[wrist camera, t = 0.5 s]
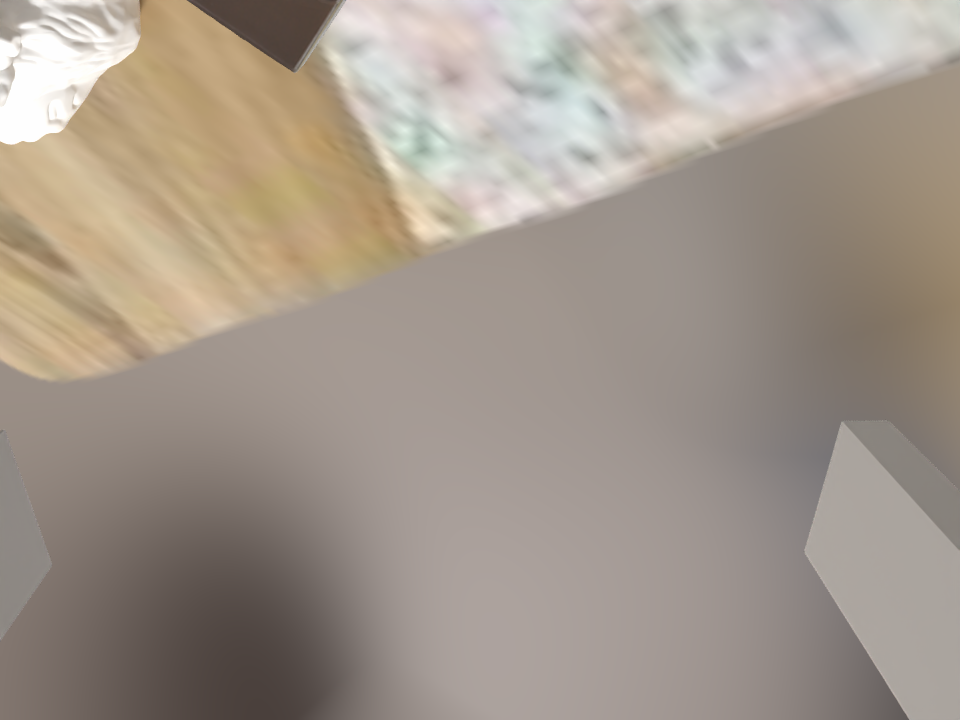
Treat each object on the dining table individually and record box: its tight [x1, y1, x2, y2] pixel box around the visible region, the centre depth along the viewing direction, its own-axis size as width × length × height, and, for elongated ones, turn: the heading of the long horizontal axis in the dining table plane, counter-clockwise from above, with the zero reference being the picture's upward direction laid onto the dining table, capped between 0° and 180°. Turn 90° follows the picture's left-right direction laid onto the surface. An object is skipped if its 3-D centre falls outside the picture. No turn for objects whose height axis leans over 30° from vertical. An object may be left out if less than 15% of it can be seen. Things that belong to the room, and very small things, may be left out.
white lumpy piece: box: [0, 0, 141, 144], centre depth 27 cm, size 12×8×11 cm
